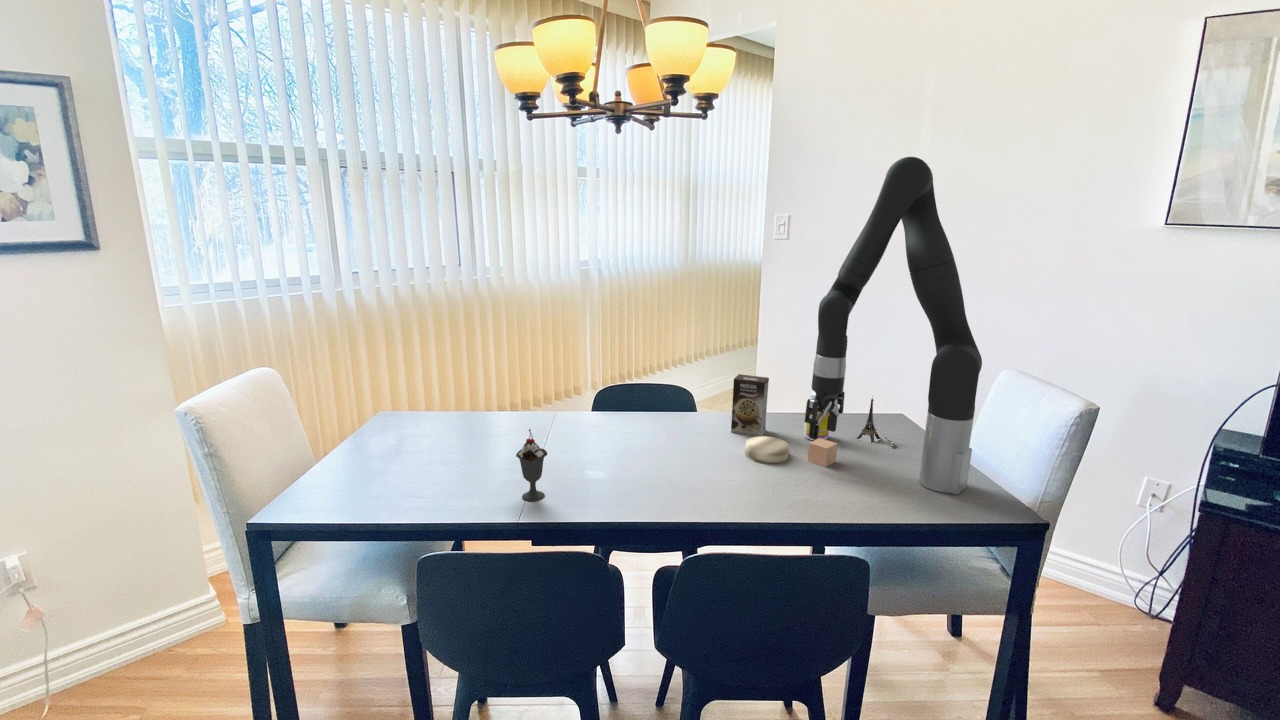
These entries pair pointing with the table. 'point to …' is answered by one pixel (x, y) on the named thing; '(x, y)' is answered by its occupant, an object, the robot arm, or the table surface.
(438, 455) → the table surface
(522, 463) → the sundae
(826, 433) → the supplement bottle
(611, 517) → the table surface
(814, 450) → the cube
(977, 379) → the robot arm
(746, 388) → the coffee box
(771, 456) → the plinth
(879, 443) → the table surface
